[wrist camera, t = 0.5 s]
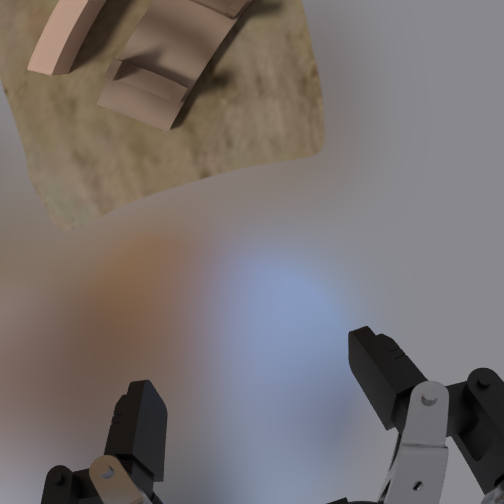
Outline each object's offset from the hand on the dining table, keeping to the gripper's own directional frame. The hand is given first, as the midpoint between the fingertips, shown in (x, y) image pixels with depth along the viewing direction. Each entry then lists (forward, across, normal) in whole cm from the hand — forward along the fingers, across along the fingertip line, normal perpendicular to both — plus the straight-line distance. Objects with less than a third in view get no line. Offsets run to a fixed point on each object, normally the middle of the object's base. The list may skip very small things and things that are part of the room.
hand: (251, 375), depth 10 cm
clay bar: (+20, +10, -30) cm, 37 cm away
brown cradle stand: (+22, 0, -22) cm, 31 cm away
